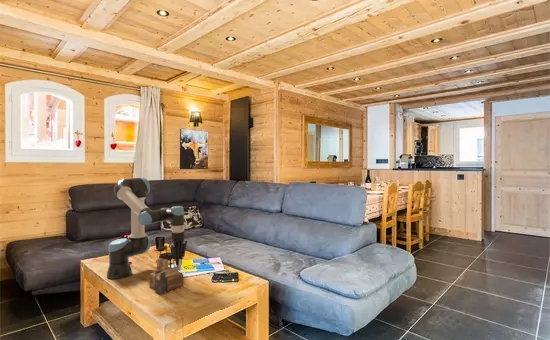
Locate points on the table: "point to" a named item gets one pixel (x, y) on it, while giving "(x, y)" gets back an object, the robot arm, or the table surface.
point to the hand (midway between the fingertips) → (178, 269)
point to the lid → (162, 266)
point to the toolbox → (165, 283)
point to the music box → (165, 255)
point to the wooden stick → (168, 272)
